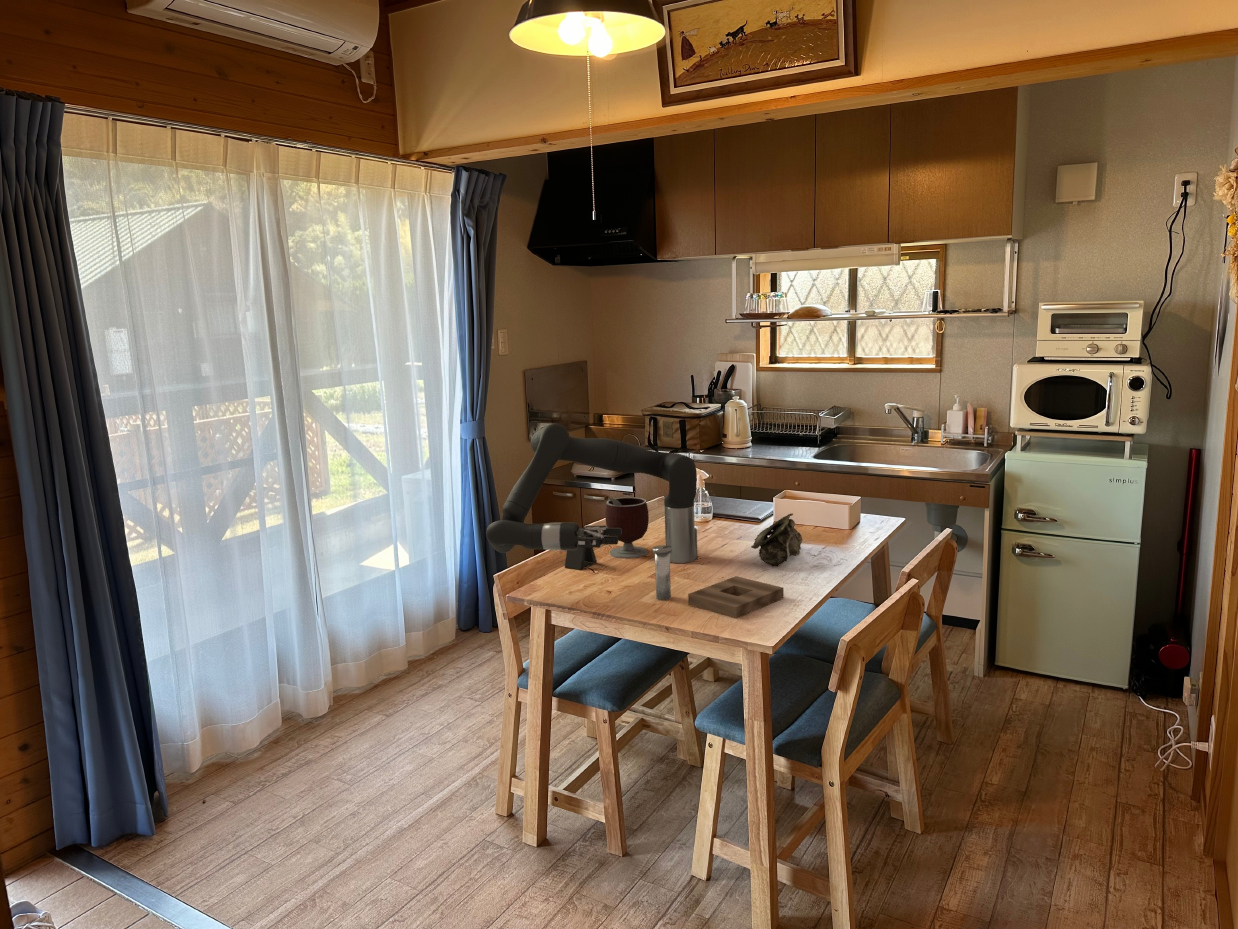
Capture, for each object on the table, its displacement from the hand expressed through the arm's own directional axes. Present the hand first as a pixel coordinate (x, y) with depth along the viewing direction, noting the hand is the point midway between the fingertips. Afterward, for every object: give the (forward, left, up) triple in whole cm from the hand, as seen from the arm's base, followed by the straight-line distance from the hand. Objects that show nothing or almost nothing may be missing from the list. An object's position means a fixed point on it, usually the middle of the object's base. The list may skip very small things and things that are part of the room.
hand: (619, 536), depth 231 cm
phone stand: (-13, -32, -18) cm, 39 cm away
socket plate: (-17, +26, -17) cm, 35 cm away
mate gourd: (-31, -30, -18) cm, 47 cm away
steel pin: (-7, +9, -17) cm, 21 cm away
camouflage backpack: (-56, +10, -18) cm, 60 cm away
